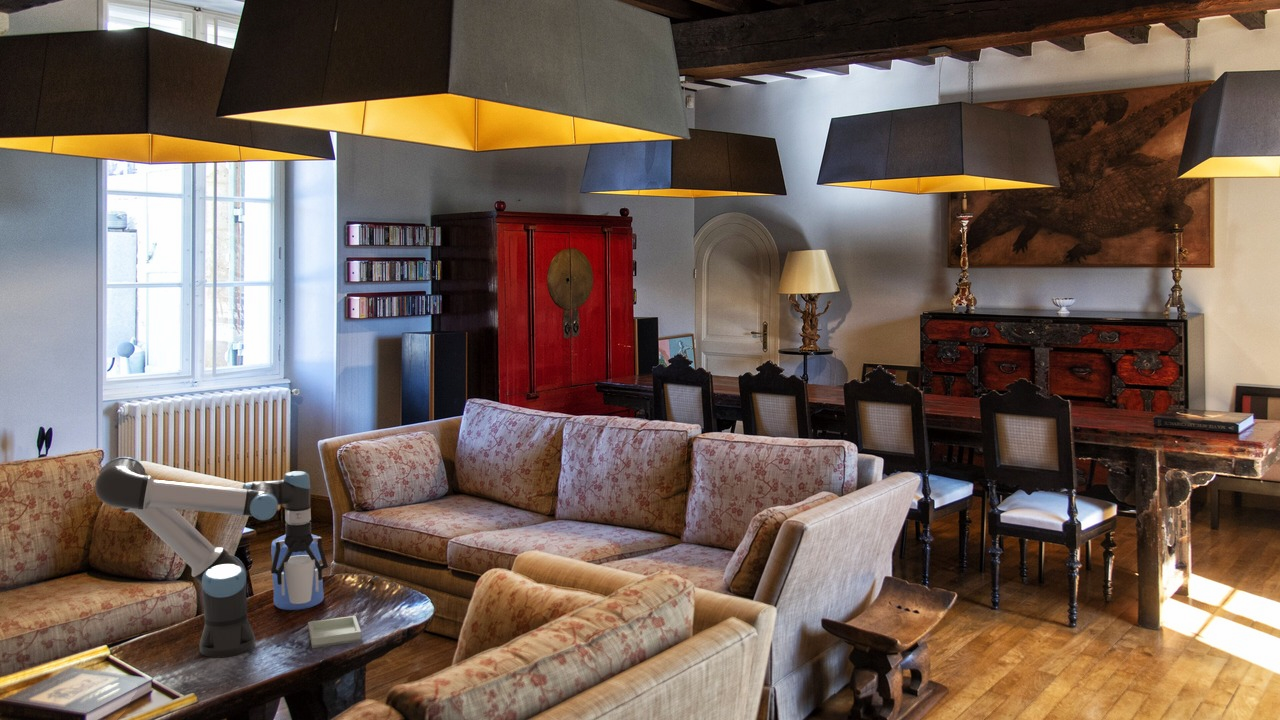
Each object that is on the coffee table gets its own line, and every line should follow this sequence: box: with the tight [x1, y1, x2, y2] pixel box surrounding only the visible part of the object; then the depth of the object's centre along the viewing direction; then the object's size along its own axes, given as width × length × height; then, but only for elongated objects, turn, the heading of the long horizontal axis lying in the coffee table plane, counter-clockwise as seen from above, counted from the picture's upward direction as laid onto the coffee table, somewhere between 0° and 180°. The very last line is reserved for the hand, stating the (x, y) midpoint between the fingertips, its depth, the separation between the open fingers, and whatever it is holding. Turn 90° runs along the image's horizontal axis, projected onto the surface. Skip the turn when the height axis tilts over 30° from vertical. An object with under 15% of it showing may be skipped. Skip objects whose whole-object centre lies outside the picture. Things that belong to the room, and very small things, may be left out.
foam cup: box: [284, 555, 315, 604], centre depth 329 cm, size 10×9×13 cm
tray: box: [307, 615, 362, 649], centre depth 319 cm, size 14×14×3 cm
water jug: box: [270, 533, 325, 611], centre depth 346 cm, size 16×16×28 cm
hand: (300, 592), depth 330 cm, fingers closed on foam cup, 9 cm apart
